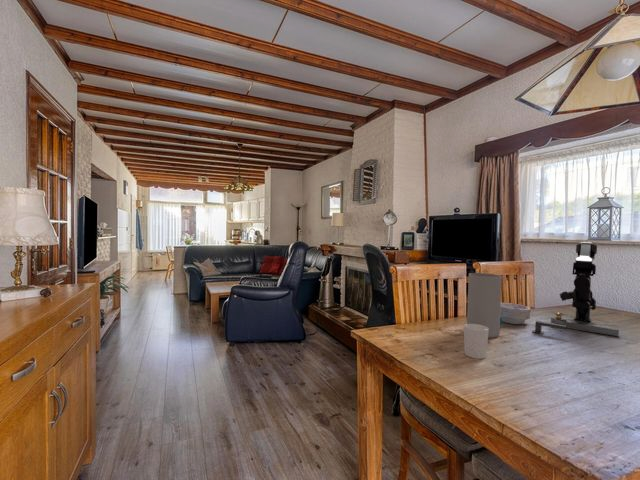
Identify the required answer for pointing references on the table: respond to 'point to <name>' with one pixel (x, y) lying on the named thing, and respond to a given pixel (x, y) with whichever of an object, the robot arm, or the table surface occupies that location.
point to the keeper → (540, 324)
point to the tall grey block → (485, 301)
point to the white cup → (475, 340)
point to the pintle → (558, 315)
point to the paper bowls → (514, 313)
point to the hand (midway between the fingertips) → (581, 320)
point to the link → (586, 326)
